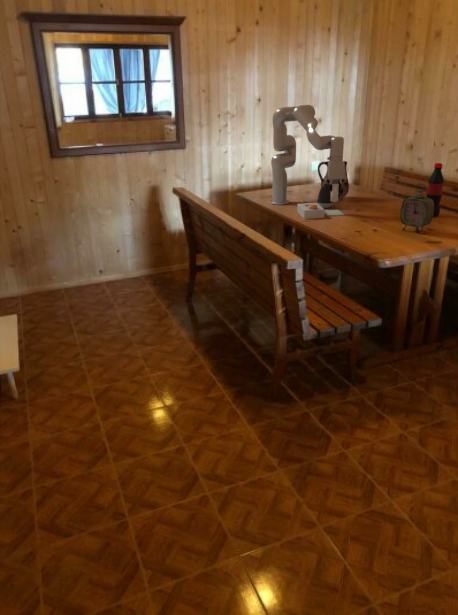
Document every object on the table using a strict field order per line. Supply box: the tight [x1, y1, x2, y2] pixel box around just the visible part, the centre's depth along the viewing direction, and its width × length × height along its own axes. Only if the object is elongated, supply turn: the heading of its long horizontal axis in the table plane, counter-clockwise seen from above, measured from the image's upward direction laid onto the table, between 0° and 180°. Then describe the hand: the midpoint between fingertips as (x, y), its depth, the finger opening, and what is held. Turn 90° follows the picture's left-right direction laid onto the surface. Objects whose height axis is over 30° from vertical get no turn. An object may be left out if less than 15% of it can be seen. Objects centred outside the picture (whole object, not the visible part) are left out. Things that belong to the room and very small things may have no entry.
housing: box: [297, 202, 326, 220], centre depth 304 cm, size 18×12×5 cm, turn 6°
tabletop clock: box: [399, 182, 434, 235], centre depth 262 cm, size 14×9×25 cm, turn 45°
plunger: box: [309, 205, 317, 209], centre depth 299 cm, size 5×5×6 cm
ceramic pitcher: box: [317, 160, 350, 201], centre depth 337 cm, size 18×21×25 cm
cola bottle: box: [426, 162, 445, 218], centre depth 289 cm, size 8×8×30 cm
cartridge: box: [330, 180, 339, 203], centre depth 300 cm, size 4×4×12 cm
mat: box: [324, 209, 345, 217], centre depth 306 cm, size 12×10×1 cm
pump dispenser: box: [316, 183, 334, 209], centre depth 319 cm, size 10×10×15 cm
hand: (334, 190), depth 300 cm, fingers closed on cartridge, 4 cm apart
